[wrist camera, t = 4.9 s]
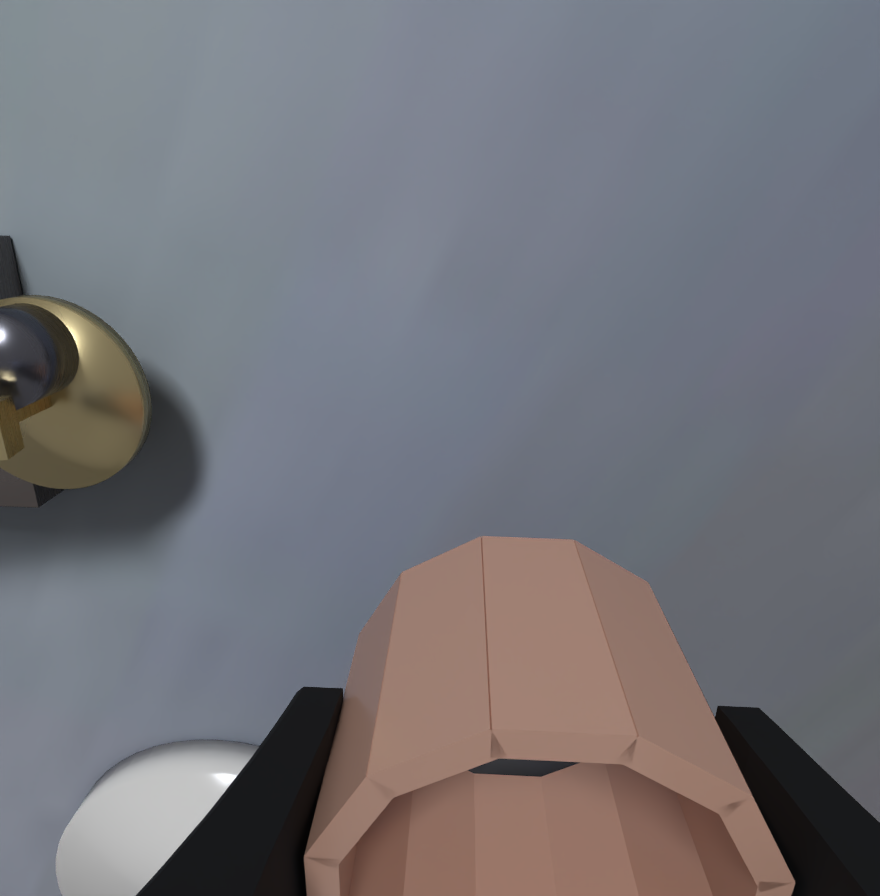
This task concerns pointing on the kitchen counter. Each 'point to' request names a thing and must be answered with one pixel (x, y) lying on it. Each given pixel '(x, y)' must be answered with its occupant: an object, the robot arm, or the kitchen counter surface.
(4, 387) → the balance
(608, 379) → the kitchen counter surface
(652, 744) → the sleeve
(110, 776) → the white glossy domed part
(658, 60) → the kitchen counter surface
